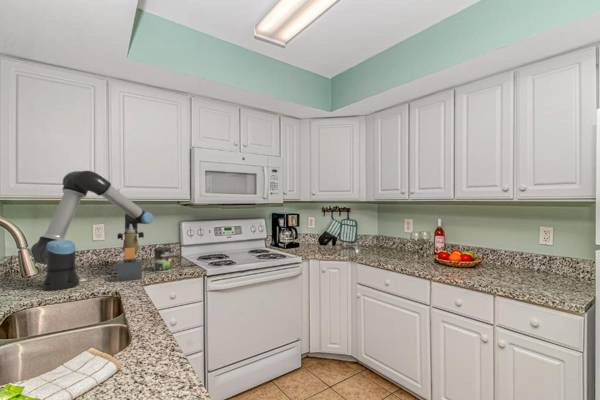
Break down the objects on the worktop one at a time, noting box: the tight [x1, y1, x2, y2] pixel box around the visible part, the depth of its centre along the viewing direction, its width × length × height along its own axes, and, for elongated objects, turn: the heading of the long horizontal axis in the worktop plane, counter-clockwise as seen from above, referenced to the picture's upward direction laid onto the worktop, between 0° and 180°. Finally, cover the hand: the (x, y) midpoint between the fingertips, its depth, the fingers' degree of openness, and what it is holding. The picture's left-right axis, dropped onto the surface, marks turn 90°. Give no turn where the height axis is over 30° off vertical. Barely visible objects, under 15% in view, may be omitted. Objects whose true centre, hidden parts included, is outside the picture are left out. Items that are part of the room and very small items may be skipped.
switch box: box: [116, 258, 143, 283], centre depth 172 cm, size 12×8×10 cm, turn 118°
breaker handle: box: [123, 248, 137, 261], centre depth 174 cm, size 6×4×7 cm, turn 118°
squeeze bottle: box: [122, 224, 139, 255], centre depth 181 cm, size 8×8×18 cm
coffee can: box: [153, 246, 173, 273], centre depth 192 cm, size 10×10×14 cm
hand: (130, 237), depth 177 cm, fingers closed on squeeze bottle, 6 cm apart
